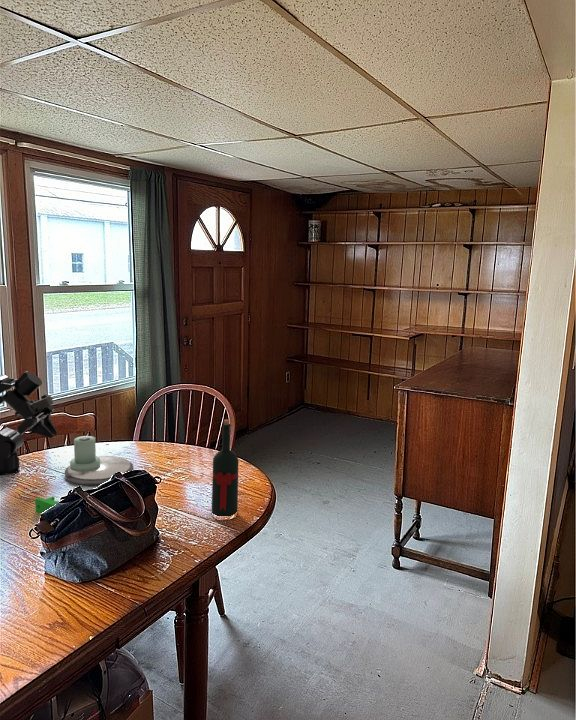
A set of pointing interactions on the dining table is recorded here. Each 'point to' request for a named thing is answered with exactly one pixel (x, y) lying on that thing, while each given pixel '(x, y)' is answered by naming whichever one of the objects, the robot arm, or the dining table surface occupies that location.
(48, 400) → the robot arm
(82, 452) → the sage green cylinder
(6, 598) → the dining table surface
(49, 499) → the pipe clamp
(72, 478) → the turntable
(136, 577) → the dining table surface
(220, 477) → the wine bottle
